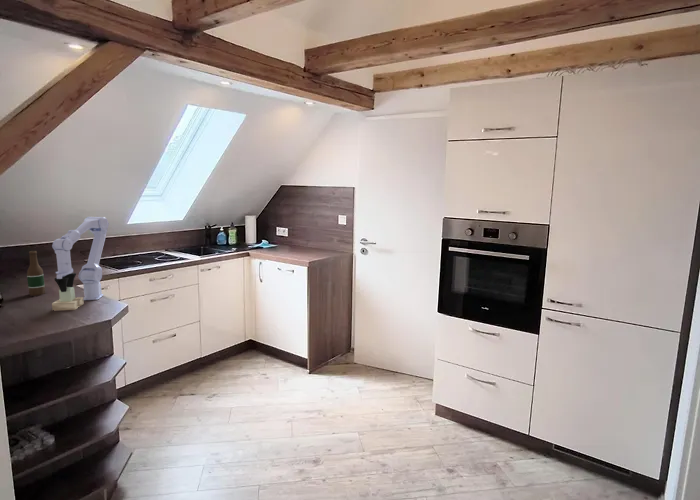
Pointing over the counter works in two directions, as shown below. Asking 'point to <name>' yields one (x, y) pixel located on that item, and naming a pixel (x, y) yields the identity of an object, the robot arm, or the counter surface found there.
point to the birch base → (68, 304)
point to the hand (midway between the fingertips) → (66, 289)
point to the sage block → (67, 294)
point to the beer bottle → (35, 276)
